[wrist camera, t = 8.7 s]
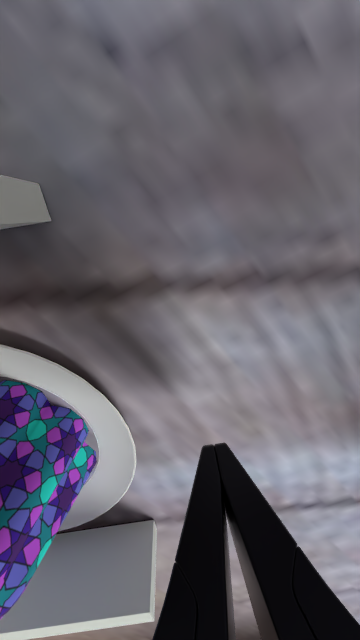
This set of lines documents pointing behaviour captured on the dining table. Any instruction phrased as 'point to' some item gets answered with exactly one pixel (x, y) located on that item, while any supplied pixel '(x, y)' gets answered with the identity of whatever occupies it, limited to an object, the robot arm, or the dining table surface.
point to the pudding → (52, 463)
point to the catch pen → (79, 532)
